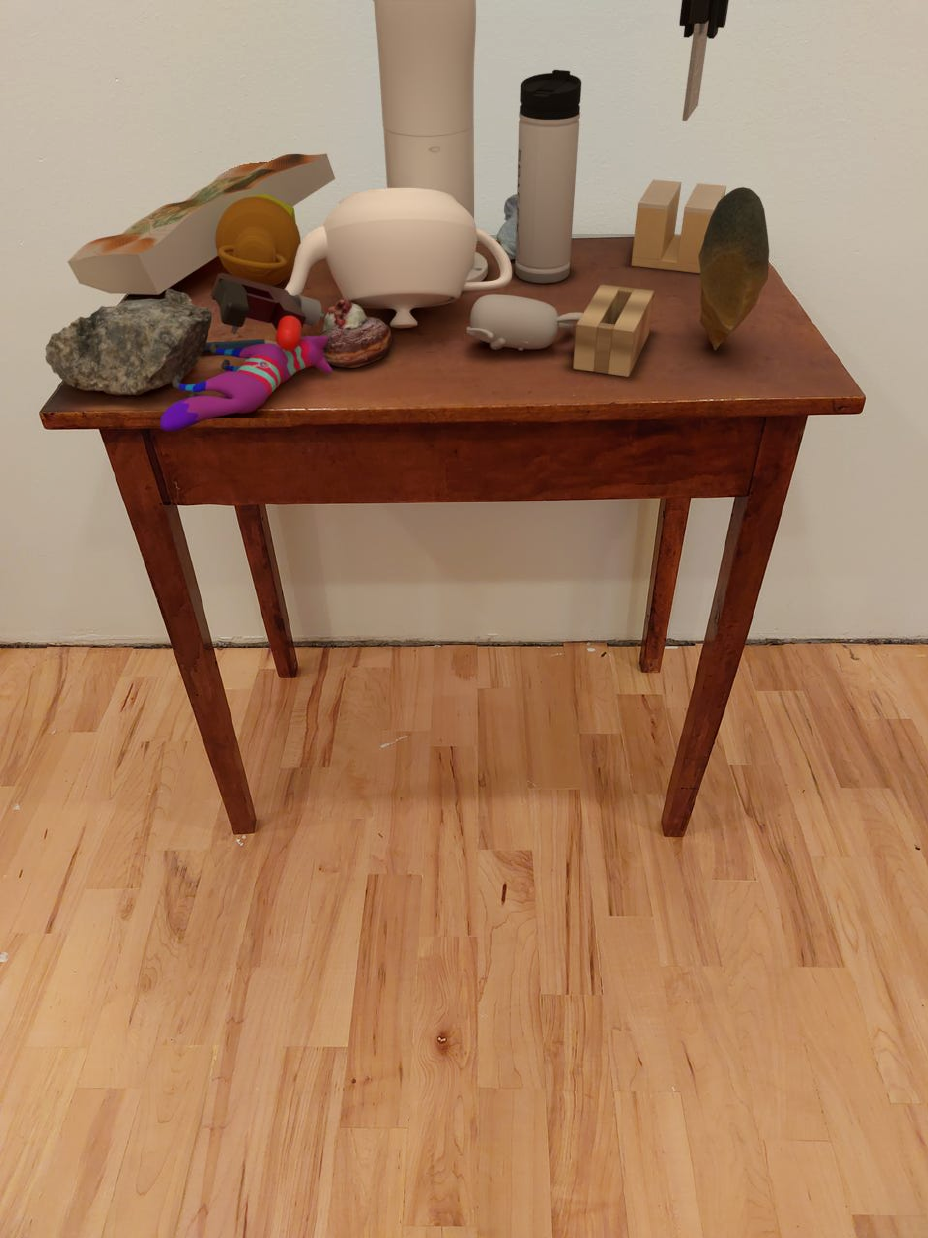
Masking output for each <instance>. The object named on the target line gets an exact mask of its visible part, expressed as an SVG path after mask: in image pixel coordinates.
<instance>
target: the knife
mask: <svg viewBox="0 0 928 1238" xmlns="http://www.w3.org/2000/svg"><path fill="white" fill-rule="evenodd" d="M711 2H712V0H692V5H691V13H690V21H689V23H691V24H695V26H694V34H693V35H692V43H691V49H690V56H689V57H690V58H689V66H688V72H687V73H688V74H687V81H686V87H685V88H686V89H685V95H684V104H683V110H682V111H683V112H682V120H681V121H682V122H687V121H688V120H689V119H690V117H691V116H692V114H693V113H694V111H695V110H696V109H697V107H698V106H699V100H700V92H701V86H702V79H703V78H702V77H703V71H704V64H705V58H706V49H707V41H708V37H707V28H708V21H709V16H710V9H711Z"/></svg>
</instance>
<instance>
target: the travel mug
mask: <svg viewBox="0 0 928 1238" xmlns="http://www.w3.org/2000/svg"><path fill="white" fill-rule="evenodd" d="M519 91H520V93H519V94H520V96H519V99H520V100H519V102H520V106H519V112H518V117H519V121H518V148H517V149H518V151H517V153H518V155H517V186H516V187H517V189H516V190H517V191H516V194H517V223H516V259H515V265H514V267H515V268H514V273H515V275H516V276H517V277H518V278H519V279H520V280H522V281H524V282H527V283H532V284H542V285H545V284H554V283H559V282H562V281H564V280H565V279H567V278H568V277H569V275H570V271H571V258H572V256H571V255H572V243H573V242H572V240H573V228H574V227H573V225H574V211H575V196H576V195H575V194H576V180H577V179H576V178H577V167H578V166H577V165H578V151H579V150H578V148H579V133H580V117H581V112H580V109H581V107H580V104H581V96H582V94H581V92H582V80H581V79H580V77H578V76H576V75H573V74H571V70H565V69H564V70H563V69H553V70H552V71H551V72H546V73H540V74H535V75H532V76H528V77H527V78H525V79H523V80H522V81H521V83H520V90H519Z"/></svg>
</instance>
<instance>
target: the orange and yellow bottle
mask: <svg viewBox="0 0 928 1238" xmlns="http://www.w3.org/2000/svg"><path fill="white" fill-rule="evenodd" d="M215 242H216V249H217V253H218V256H217V257H218V258H219V261H220V262H221V264H222V265H223V267H224V268H225V270H226V271H227V273H228V274H229V275H232V276H236V277H239V278H243V279H246V280H250V281H254V282H257V283H261V284H264V285H270V286H273V287H274V286H277V285H278V284H280V283H282V282H284V281H285V280H286V279H288V278H290V277H291V275H292V271H293V267H294V262H295V257H296V254H297V250H298V247H299V245H300V243H301V242H302V240H301V235H300V230H299V227H298V225H297V223H296V215H295V207H294V206H293V207H291V206H289V205H287V204H285V203H283V202H281V201H279V200H277V199H275V198H273V197H271V196H269V195H267V194H260V195H255V196H251V197H246V198H243V199H240V200H238V201H236V202H234V203H233V204H232V205H230V206H229V207H228V208H227V209H226V211H225V212H224V214H223V215H222V217H221V219H220V221H219V223H218V226H217V229H216V236H215Z"/></svg>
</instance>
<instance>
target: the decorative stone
mask: <svg viewBox="0 0 928 1238" xmlns="http://www.w3.org/2000/svg"><path fill="white" fill-rule="evenodd" d="M767 226H768V225H767V219H766V213H765V208H764V205H763V202H762V199H761V197H760V196H759V195H758V194H757V193H756V192H755V191H754V190H753V189H751V188H749V187H745V186H741V187H737V188H733V189H732V190H730V191H729V192H727V193H725V196H724V197H723V198H722V199H721V200H720V201H719V202H718V204H717V206H716V208H715V210H714V212H713V214H712V216H711V218H710V221H709V224H708V227H707V230H706V233H705V236H704V241H703V244H702V247H701V250H700V252H699V255H698V258H699V265H700V273H699V280H700V281H699V284H700V285H699V287H700V297H699V299H700V301H699V302H700V316H699V323H700V325H701V326H702V327H703V329H704V331H705V332H706V334H707V337H708V339H709V341H710V343H711V345H712V347H713V350H714V351H716V350H717V349H718V348H719V347H720V345H722V343H723V342H725V341H726V339H728V338H730V337H731V336H732V334H733V333H734V332H735V331H736V330H737V328H738V327H739V326H740V325H741V324H742V323H743V322H744V321H745V320H746V318H747V317H748V316H749V315H750V314H751V312H752V311H753V310H754V308H755V307H756V304H757V303H758V300H759V297H760V294H761V291H762V290H763V288H764V286H765V284H766V283H767V281H768V279H769V267H770V266H769V263H770V262H769V260H770V243H769V235H768V227H767Z"/></svg>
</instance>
